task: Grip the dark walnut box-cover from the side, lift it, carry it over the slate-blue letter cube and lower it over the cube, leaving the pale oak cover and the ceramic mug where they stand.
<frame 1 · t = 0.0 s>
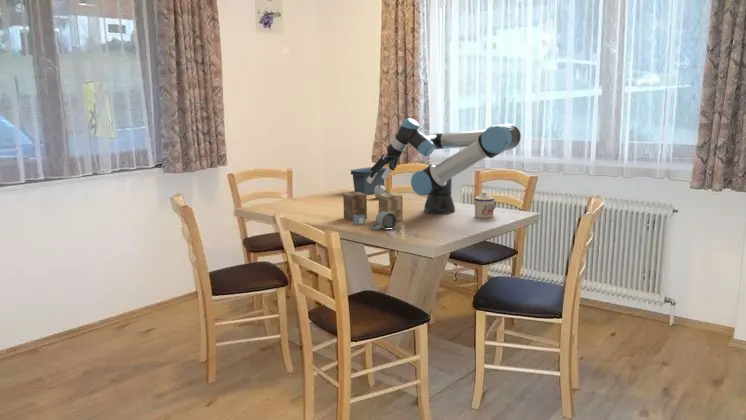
hand: (376, 180, 304), 15 cm above the table, tool tilted 35°, fingers open, 13 cm apart
teacup with lid: (486, 216, 289), on the table
ceramic mug: (383, 229, 266), on the table
grey rounded piece: (380, 199, 339), on the table
oak cover: (390, 219, 283), on the table
walnut cover: (355, 218, 287), on the table
storage bin: (368, 193, 359), on the table
letter cube: (359, 224, 276), on the table
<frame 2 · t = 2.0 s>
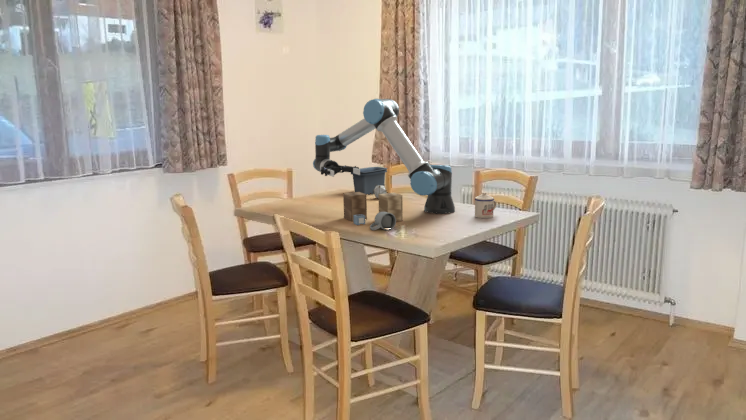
hand: (346, 173, 292), 21 cm above the table, tool horizontal, fingers open, 13 cm apart
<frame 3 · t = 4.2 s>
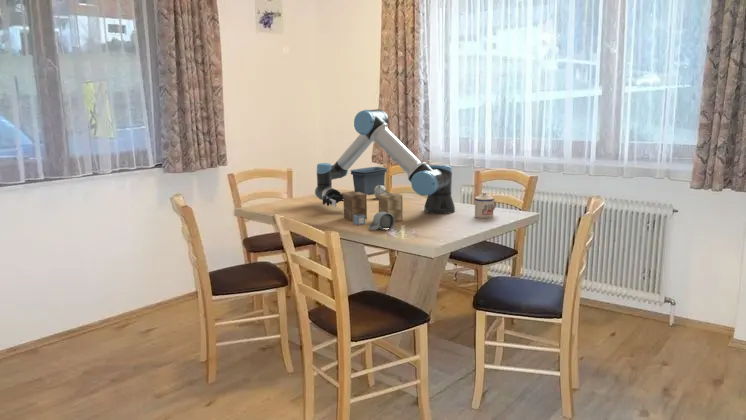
hand: (348, 202, 292), 7 cm above the table, tool horizontal, fingers open, 13 cm apart
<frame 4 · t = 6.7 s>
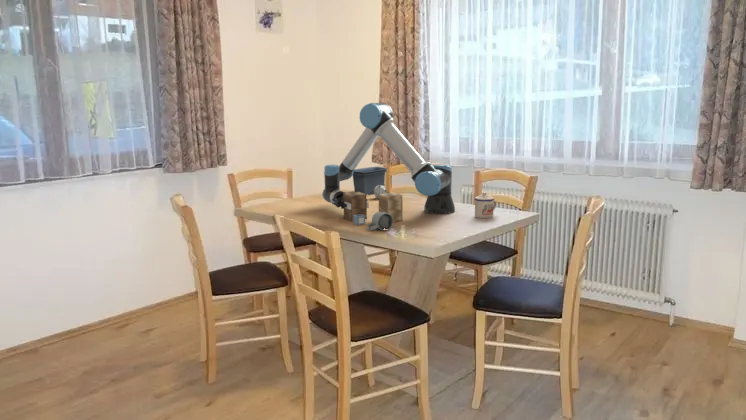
hand: (359, 205, 282), 7 cm above the table, tool horizontal, fingers closed on walnut cover, 8 cm apart
walnut cover: (355, 218, 287), on the table, touching gripper
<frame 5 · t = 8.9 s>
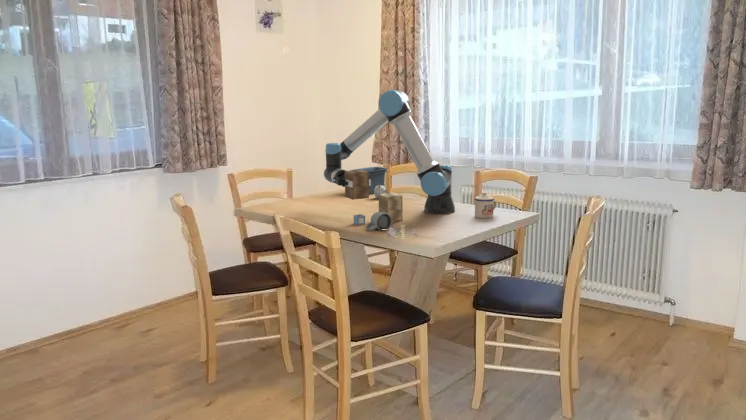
hand: (361, 183, 270), 19 cm above the table, tool horizontal, fingers closed on walnut cover, 8 cm apart
walnut cover: (357, 197, 276), point 12 cm above the table, touching gripper
when the fingers open (9 cm above the table, at t = 11.5 s): walnut cover drops 2 cm, on the table.
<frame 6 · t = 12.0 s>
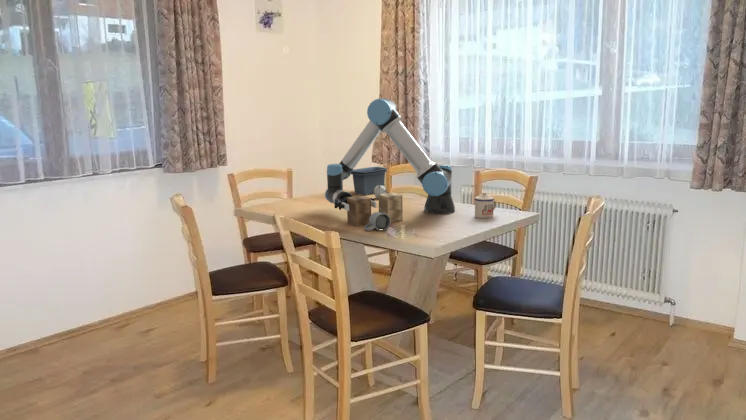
hand: (362, 206, 272), 9 cm above the table, tool horizontal, fingers open, 13 cm apart
walnut cover: (359, 223, 276), on the table
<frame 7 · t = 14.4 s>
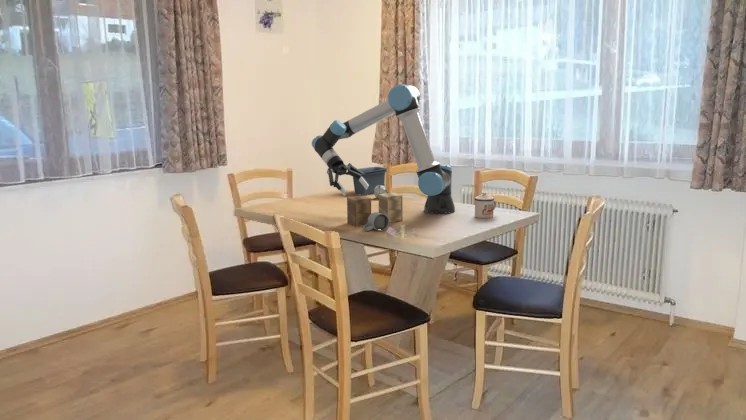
hand: (356, 190, 289), 13 cm above the table, tool tilted 50°, fingers open, 13 cm apart
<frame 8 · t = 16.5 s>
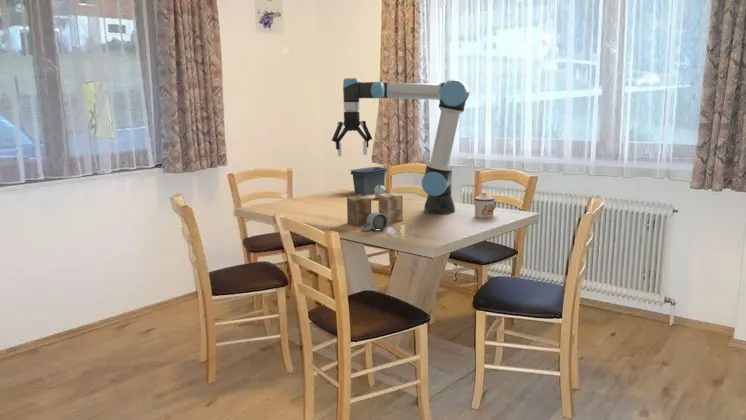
hand: (352, 155, 294), 29 cm above the table, tool pointing down, fingers open, 13 cm apart
at the end: walnut cover 0.1 cm from the letter cube (horizontally); walnut cover on the table; walnut cover tilted 0° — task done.
